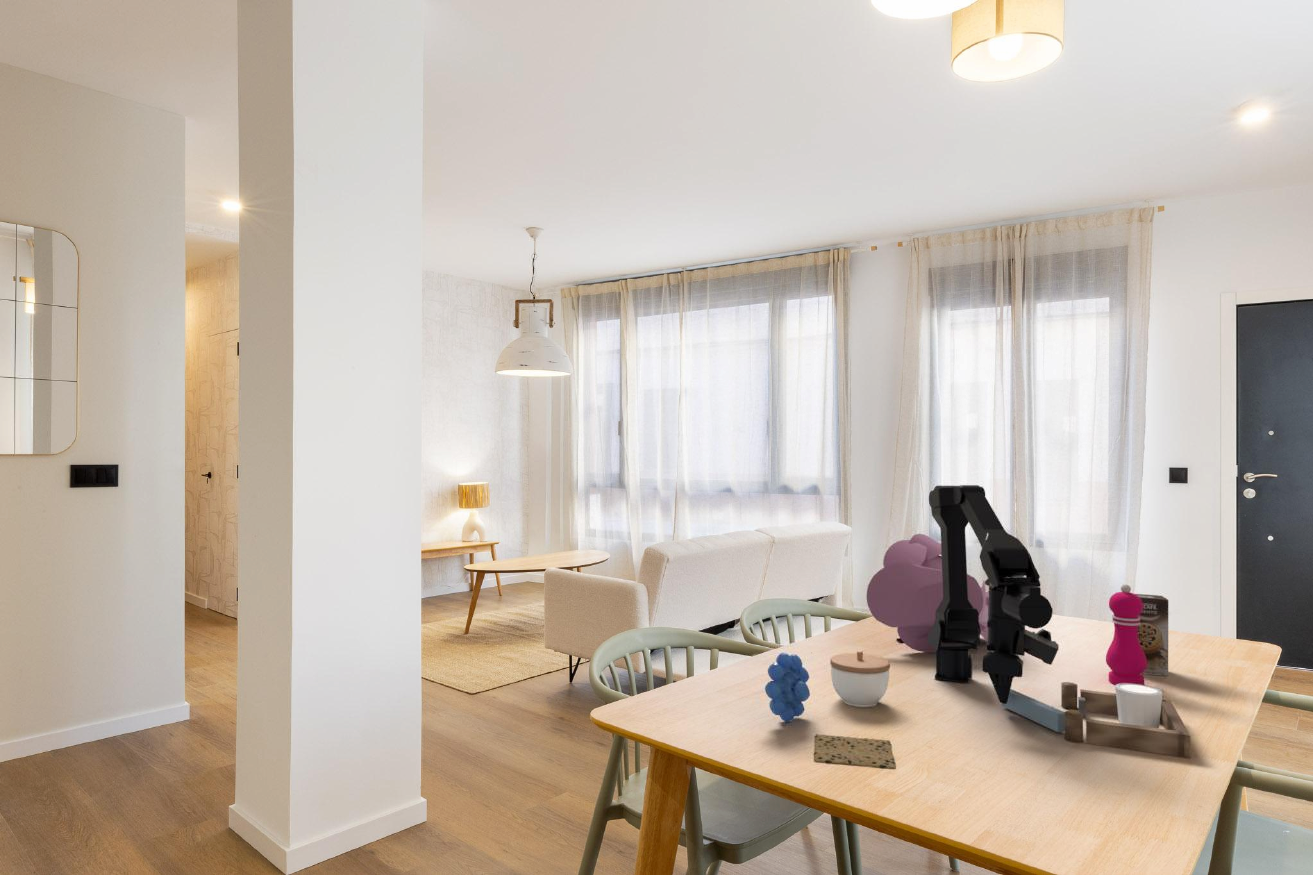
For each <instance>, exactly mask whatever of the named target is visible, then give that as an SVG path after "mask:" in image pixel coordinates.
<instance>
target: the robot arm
mask: <svg viewBox="0 0 1313 875" xmlns="http://www.w3.org/2000/svg"><path fill="white" fill-rule="evenodd" d="M928 503H929V507H930V508H931V516H932V518H933V519H934V520H935V522H936V524H937V525H938V528H940V544H941V553H942V555H941V556H942V578H943V600H942V601H941V603H940V605H939V606H938V608H937V610H936V615H935V621H934V623H933V625H932V627H931V629H930V631H929V633H928V642H929V645H930V646H931V647H933V648H935V649H936V652H935V675H934V679H935V680H939V681H940V680H942V681H949V682H955V683H957V682H959V683H967V684H968V683H969V682H970V679H972V678H973V673H974V672H973V670H974V669H973V660H974V659H973V655H972V654H970V650H973V651H978V648H979V644H980V638H981V634H980V633H981V628H980V624H979V612H978V610H977V609H974V608H973V606H972V605H971V603H970V602H969V600H968V584H967V574H968V565H967V545H966V544H967V543H966V542H967V540H966V538H967V537H966V527H968V526H967V525H968V524H969V525H970V527H971V529H972V530H973V532H974V534H975V537H976V538H977V540H978V542H979V544H980V546H981V550H980V554H979V560H980V564H981V567H982V570H983V571H984V573H985V575H986V577H987V579H986V580H984V581H985V586H987V587H988V591H989V604H988V621H987V627H988V642H987V641H986V651H987V653H986V654H985V655H983V657H982V661H981V662H982V664H981V665H982V666H981V670H982V672H983V673H985V674H986V673H987V674H988V676H989V678H990V679H989V680H990V681H991V683H992V686H993V688H994V691H995V694H996V696H997V698H998V701H999V703H1000V704H1001V705H1002V704H1007V701H1008V697H1009V693H1010V689H1012V683H1013V679H1014V678H1022V677H1023V674H1024V673H1023V670H1024V660H1022V658H1021V657H1022V656H1023V657H1025V654H1028V655H1030V656H1031V657H1034V658H1037V659H1038V660H1040V661H1042V662H1043V664H1044V663H1045V664H1047V665H1050V666H1051V665H1052V664H1053V663H1054V660H1055V658H1056V656H1057V653H1058V651H1059V648H1060V646H1059V644H1058V643H1057V641H1055V640H1052V635H1051V634H1052V633H1051V631H1048V630H1046V629H1044V628H1043V627H1045V626H1047V624H1049V622H1050V621H1051V619H1052V617H1053V614H1054V613H1053V607H1052V605H1051V602H1050V601H1049V599H1048V598H1047V597H1045V596H1044V595H1042V593H1041V592H1042V590H1041V581H1040V578H1041V576H1040V574H1039V572H1038V570H1037V568H1036V566H1035V564H1034V562H1033V558H1032V556H1031V553H1030V552H1029V551H1028V549H1027V548H1026V546H1025V545H1024V544H1023V543H1022V541H1020V539H1019V538H1018V537H1015V536H1014V535H1012V534H1009V533H1008V532H1007V530H1006V529H1005V527H1003V524H1002V522H1001V521H1000V518H999V517H998V516H997V514H996V513H995V511H994V508H993V507H992V505H991V503H990V502H989V500H988V499H987V497H986V490H985V488H984V487H983V486H980V485H978V484H974V485H973V484H972V485H971V484H960V485H935V487H934V488H933V490H931V491H930V492H929V494H928ZM1026 627H1027V628H1031V629H1035V630H1036V629H1040V630H1039V631H1037V632H1035V631H1030V630H1028V629H1026ZM1020 656H1021V657H1020Z"/></svg>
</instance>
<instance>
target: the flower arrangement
mask: <svg viewBox="0 0 1313 875" xmlns="http://www.w3.org/2000/svg"><path fill="white" fill-rule="evenodd" d="M882 564H883V565H882V566H883V568H881V569H880V570H878V571H877V572H876V573H875V574H874V575H873V576H872V578H871V579H870V581H869V583H868V585H867V590H866V603H867V607H868V609H869V611H870V613H871V616H873V618H874V619H875V620H876V621H878V622H879V623H881V624H883V625H885V626H887V627H890V628H897V629H896V632H897V634H898V636H896V637H895V639H900V640H901V641H902V642H903V643H904V645H906V646H907V647H909V648H910V649H912V650H915V651H917V652H922V653H925V652H926V653H936V649H935V648H933V647H931V646H930V645H929V642H928V633H929V631H930V629H931V627H932V625H933V623H934V621H935V615H936V610H937V608H938V606H939V605H940V603H941V601H942V600H943V578H942V553H941V542H939V541H937V540H935V539H933V538H932V537H930V536H928V535H926V534H923V533H915V534H913V536H912V537H911V538H910V539H901V540H898V541H896V542H894V543H892V544H891V545H890V546H889V547H888V549H887V550H886V551H885V554H884V556H883V562H882ZM985 581H986V580H983V581H982V584H981V586H980V584H979V582H978V580H977V579H976V578H975V577H974V576H971V575H970V574H968V573H967V584H968V600H969V602H970V603H971V605H972V606H973V608H974V609H977V610H978V612H979V624H980V628H981V633H980V637H982V638H983V639H984V640H985V642H986V643H987V642H988V627H987V621H988V604H989V590H987V589H986V584H985Z"/></svg>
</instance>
